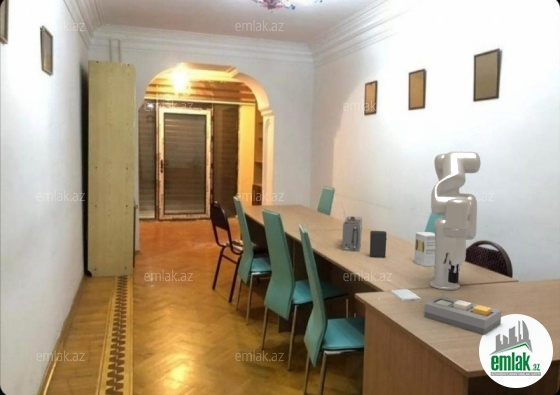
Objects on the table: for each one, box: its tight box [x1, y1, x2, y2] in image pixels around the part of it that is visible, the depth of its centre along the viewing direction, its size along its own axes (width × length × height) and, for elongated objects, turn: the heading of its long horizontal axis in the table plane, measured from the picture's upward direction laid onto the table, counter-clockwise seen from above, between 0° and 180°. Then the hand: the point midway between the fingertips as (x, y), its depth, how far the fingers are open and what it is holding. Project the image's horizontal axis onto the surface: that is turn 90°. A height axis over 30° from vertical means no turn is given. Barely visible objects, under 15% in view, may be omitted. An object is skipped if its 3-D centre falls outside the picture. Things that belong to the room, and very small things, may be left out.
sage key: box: [436, 300, 453, 306], centre depth 169 cm, size 5×5×2 cm
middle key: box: [453, 299, 473, 311], centre depth 164 cm, size 5×5×2 cm
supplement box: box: [413, 231, 435, 268], centre depth 245 cm, size 10×9×17 cm
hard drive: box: [390, 288, 423, 302], centre depth 191 cm, size 2×8×12 cm
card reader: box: [369, 230, 388, 259], centre depth 260 cm, size 9×4×15 cm, turn 80°
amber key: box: [473, 304, 492, 316], centre depth 159 cm, size 5×5×2 cm
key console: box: [423, 295, 502, 336], centre depth 164 cm, size 14×22×5 cm, turn 44°
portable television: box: [341, 203, 363, 252], centre depth 285 cm, size 12×24×30 cm, turn 167°
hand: (453, 282), depth 166 cm, fingers closed
